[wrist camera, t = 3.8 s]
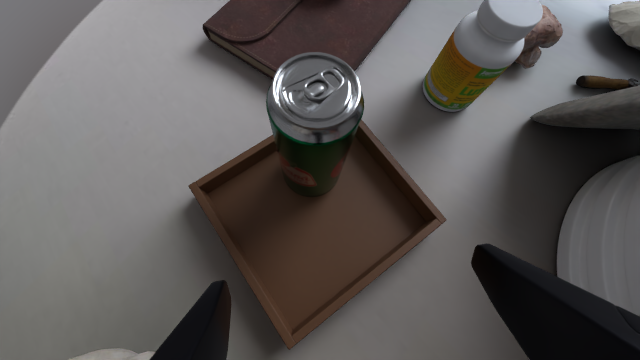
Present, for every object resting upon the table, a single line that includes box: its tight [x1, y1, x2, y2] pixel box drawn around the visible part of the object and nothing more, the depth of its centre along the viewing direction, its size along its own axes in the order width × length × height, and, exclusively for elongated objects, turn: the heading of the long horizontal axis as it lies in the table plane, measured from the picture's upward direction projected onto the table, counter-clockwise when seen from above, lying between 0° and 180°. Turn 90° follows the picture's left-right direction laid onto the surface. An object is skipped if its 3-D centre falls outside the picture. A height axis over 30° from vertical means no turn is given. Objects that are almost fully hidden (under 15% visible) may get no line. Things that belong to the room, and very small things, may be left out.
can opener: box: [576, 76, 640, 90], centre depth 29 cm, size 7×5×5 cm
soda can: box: [266, 52, 364, 197], centre depth 19 cm, size 5×5×12 cm
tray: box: [189, 120, 446, 350], centre depth 22 cm, size 15×14×2 cm
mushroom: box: [515, 5, 563, 69], centre depth 28 cm, size 8×6×8 cm
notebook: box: [203, 0, 410, 79], centre depth 29 cm, size 15×20×2 cm
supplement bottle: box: [423, 0, 543, 112], centre depth 23 cm, size 5×5×10 cm
